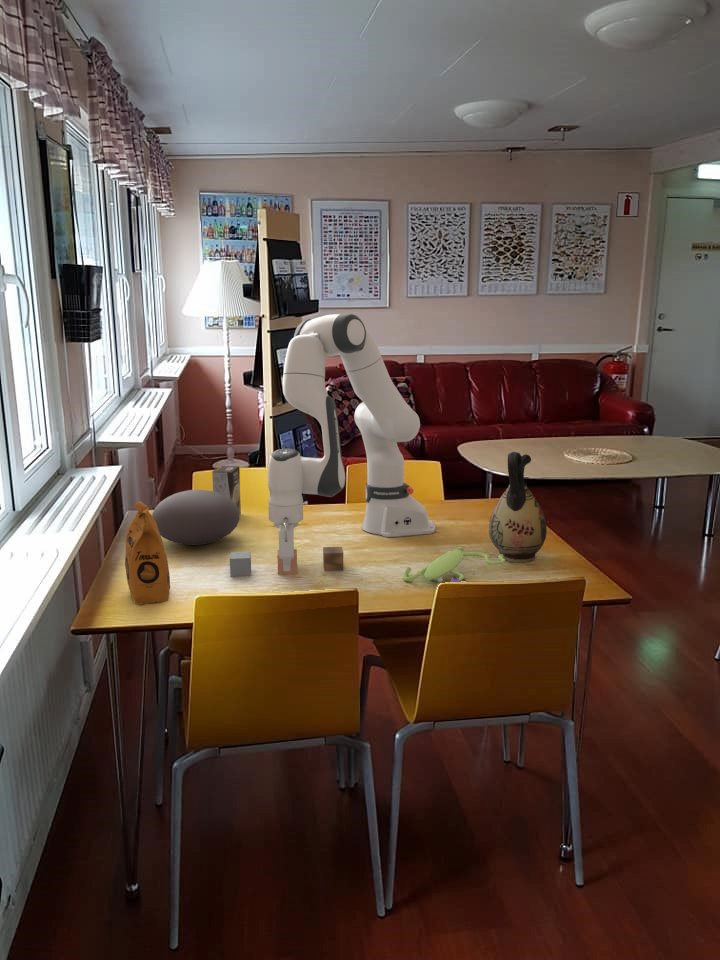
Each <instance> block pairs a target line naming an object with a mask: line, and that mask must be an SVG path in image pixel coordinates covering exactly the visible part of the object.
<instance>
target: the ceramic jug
mask: <svg viewBox="0 0 720 960" xmlns="http://www.w3.org/2000/svg"><path fill="white" fill-rule="evenodd" d="M531 462H532V458H531V456H530V455H529V454H526V453H525V454H523V455H521V453H520V452H517V451H512V452H510V453H508V455H507V473H508V479H509V484H508V487H507V488H506V489H505V490H504V492H503V493H502V495H501V496H500V497H499V499H498V500H497V503H496V504H495V506H494V508H493V509H492V511H491V514H490V518H489V524H488V534H489V538H490V540H491V543H492V544H493V546H494V547H495V548H496V549H497V551H498V553H499V555H500V554H502V555H503V556H504V557H503V558H504V559H505V561H507V562H509V563H521V562H522V563H525V562H532V561H534V560H535V559H536V554H537V553H538V552H539V551H540V550H541V548H542V547H543V546H544V544H545V541H546V538H547V534H548V530H547V523H546V518H545V514H544V512H543V510H542V507H541V506H540V503H539V502H538V501H537V499H536V497H535V495H534V494H533V492H532V491H531V490H530V489H529V488H528V486H527V484H526V482H525V468H526V465H528V464H530V463H531Z"/></svg>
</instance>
